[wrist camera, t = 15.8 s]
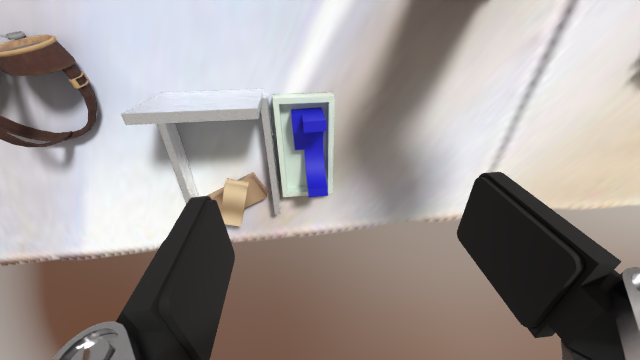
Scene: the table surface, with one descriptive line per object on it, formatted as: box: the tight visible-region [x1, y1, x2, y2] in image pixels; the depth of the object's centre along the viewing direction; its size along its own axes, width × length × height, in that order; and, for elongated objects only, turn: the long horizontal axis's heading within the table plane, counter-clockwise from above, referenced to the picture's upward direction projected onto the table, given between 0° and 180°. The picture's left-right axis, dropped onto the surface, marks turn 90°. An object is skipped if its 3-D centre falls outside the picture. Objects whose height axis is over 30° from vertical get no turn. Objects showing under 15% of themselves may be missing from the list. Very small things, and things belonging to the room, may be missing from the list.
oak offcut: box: [221, 178, 249, 226], centre depth 42 cm, size 8×4×2 cm, turn 164°
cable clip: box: [291, 107, 328, 197], centre depth 38 cm, size 12×4×6 cm, turn 2°
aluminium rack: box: [121, 89, 281, 214], centre depth 36 cm, size 15×21×10 cm
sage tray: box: [272, 92, 335, 197], centre depth 40 cm, size 9×17×2 cm, turn 1°
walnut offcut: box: [208, 172, 268, 212], centre depth 44 cm, size 10×4×2 cm, turn 117°
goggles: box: [0, 31, 97, 147], centre depth 30 cm, size 15×13×10 cm
